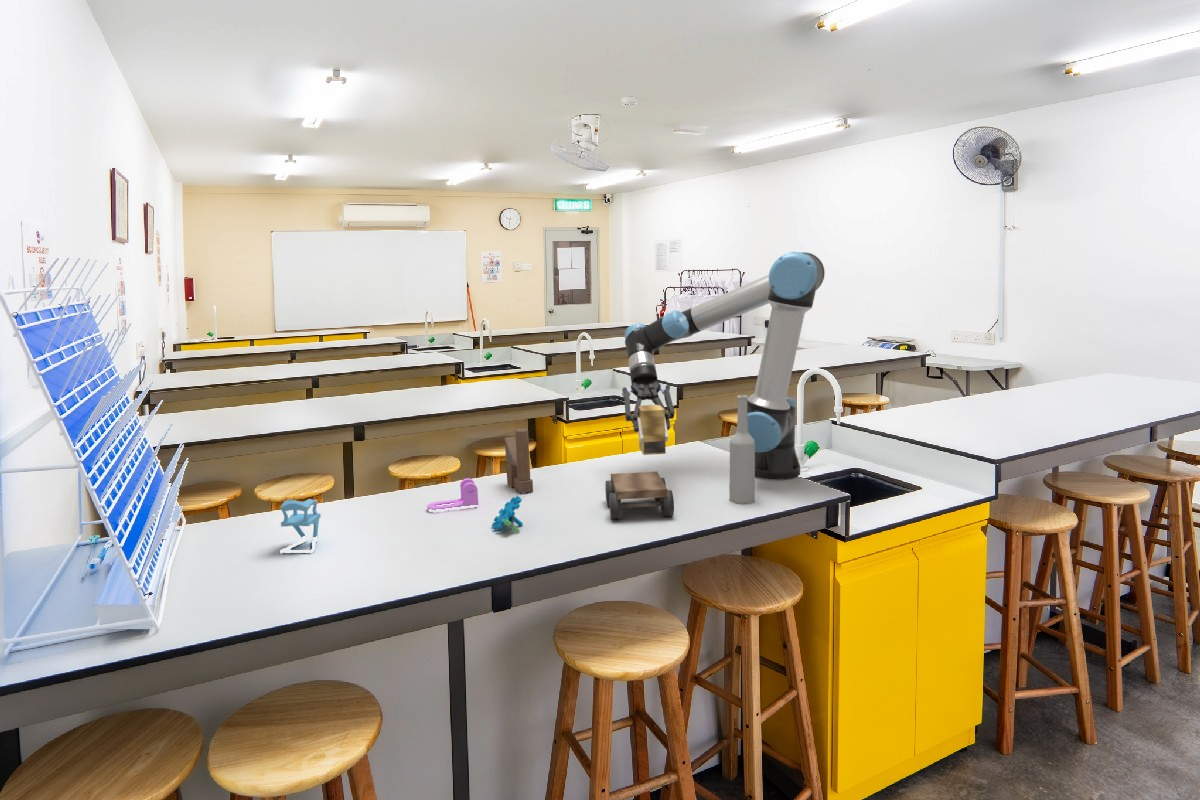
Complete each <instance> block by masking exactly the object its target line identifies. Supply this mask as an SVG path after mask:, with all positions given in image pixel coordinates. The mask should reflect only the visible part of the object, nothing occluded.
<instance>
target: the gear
mask: <svg viewBox="0 0 1200 800" xmlns="http://www.w3.org/2000/svg"><path fill="white" fill-rule="evenodd" d="M522 501H523V498H522V497H521V496H519V495H516V496H515V497H514V496H513V497H511V498H510V501H507V502H506V503H505V504H504V507H503V508H501V509H499V511H498V514H499V516H498V515H496V516H495V517H494V519H493V522H492V524H491V527H492V526H493V527H492V529H493V530H494V531H496V530H495V529H497V530H498V529H499V530H501V529H502V528H503V526H504V525H506V527H507V528H508V529H509V530H510V529H512V530H513V531H515V533H517V532H519V533H520V532H521V531H520V530H519V529H518V528H517V527H516V526H514V524H516V525H518V526H519V527H520V526H521V527H522V526H523V525H524V523H523V521H521V520H520V519H518V518H517V517H516V516H515V515H516V512H515V510H518V509H519V508H520V507H521V502H522Z"/></svg>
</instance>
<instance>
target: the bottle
mask: <svg viewBox="0 0 1200 800" xmlns="http://www.w3.org/2000/svg"><path fill="white" fill-rule="evenodd" d="M748 397H749V396H748V395H747V394H746V395H745V394H739V395H737V396H736V398H737V420H736V432H735V433H734V435H733V436H732V437H731V439H730V440H729V483H728V484H729V486H728V489H729V491H728V492H729V496H728V497H729V502H731V501H732V502H731V503H733V502H735V503H734V504H737V503H738V504H739V503H741V504H740V505H746V504H745V503H749V504H752V503H755V501H756V497H755V496H756V495H755V494H756V477H755V441H754V439H753V438H752V437H751V435H750V434H749V433H748V422H747V399H748ZM751 502H752V503H751Z"/></svg>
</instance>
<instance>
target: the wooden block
mask: <svg viewBox="0 0 1200 800" xmlns="http://www.w3.org/2000/svg"><path fill="white" fill-rule="evenodd" d="M514 432H515V433H514V434H515V436H510V437H504V449H505V450H504V451H505V461H506V463H505V467H506V482H507V483H506V485H507V484H508V485H509V487H510V486H511V487H510V488H512V487H514V490H515V489H516V491H517V492H518V491H519V493H520V492H521V493H520V494H522V493H524V494H528V493H527V492H529V493H532V492H534V484H533V479H531V464H530V463H531V462H530V442H529V440H530V439H529V430H528V428H524V427H523V428H517V429H515V431H514ZM508 485H507V486H508Z"/></svg>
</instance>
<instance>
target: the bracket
mask: <svg viewBox="0 0 1200 800" xmlns="http://www.w3.org/2000/svg"><path fill="white" fill-rule="evenodd" d="M459 487H460V498H458V499H451V500H443V501H435V502H430V503H429V504H427V505H426V509H427V508H428V509H432V510H433V509H434V510H436V509H445V508H452V507H461V506H470V505H478V506H479V493H478V491H479V490H478V487H477V485H476V484H475V482H474V480H473V479H471V478H469V477H468V478H467V477H466V478H463V479H462V480H461V481H460V485H459ZM450 503H455V504H451V505H443V506H436V505H442V504H450Z"/></svg>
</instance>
